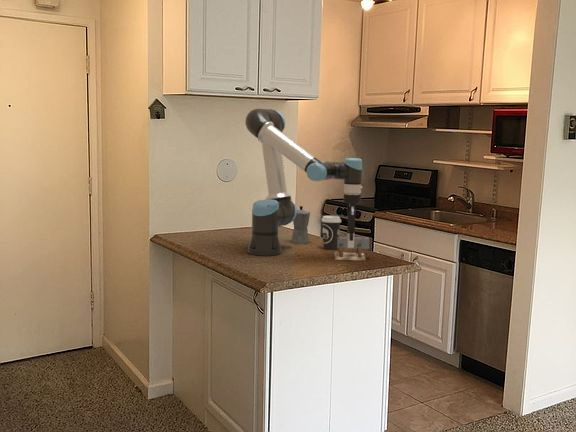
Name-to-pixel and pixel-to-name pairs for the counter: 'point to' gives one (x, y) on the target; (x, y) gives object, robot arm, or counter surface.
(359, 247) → the rack
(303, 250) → the counter surface
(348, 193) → the robot arm
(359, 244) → the grey metal bar
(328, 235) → the coffee cup
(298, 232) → the coffeepot
